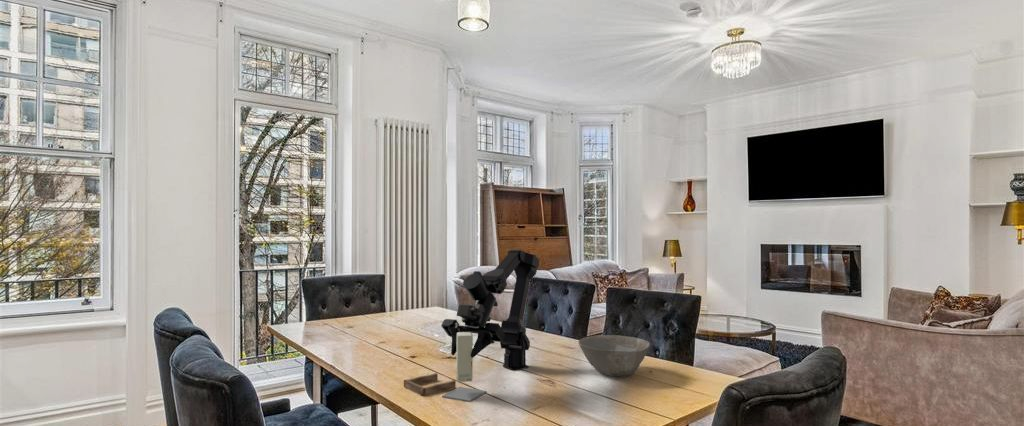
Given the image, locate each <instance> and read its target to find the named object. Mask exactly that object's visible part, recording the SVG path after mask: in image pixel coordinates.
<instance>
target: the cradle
mask: <svg viewBox="0 0 1024 426" xmlns="http://www.w3.org/2000/svg"><path fill="white" fill-rule="evenodd" d="M438 377H439V376H438V373H436V372H435V373H430V374H426V375H420V376H417V377H413V378H412V377H411V378H408V379H404V380H403V388H404V389H407V390H409V391H411V392H414V393H415V394H417V395H419V396H422V397H425V396H428V395H432V394H437V393H441V392H445V391H449V390H452V389H453V390H454V389H456V386H457V385H456V383H457V382H456V381H457V380H449V381H445V382H440V383H436V384H433V385H431V384H430V385H428V386H422V385H423V384H427V383H431V382H436V381H439V380H438Z"/></svg>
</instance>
